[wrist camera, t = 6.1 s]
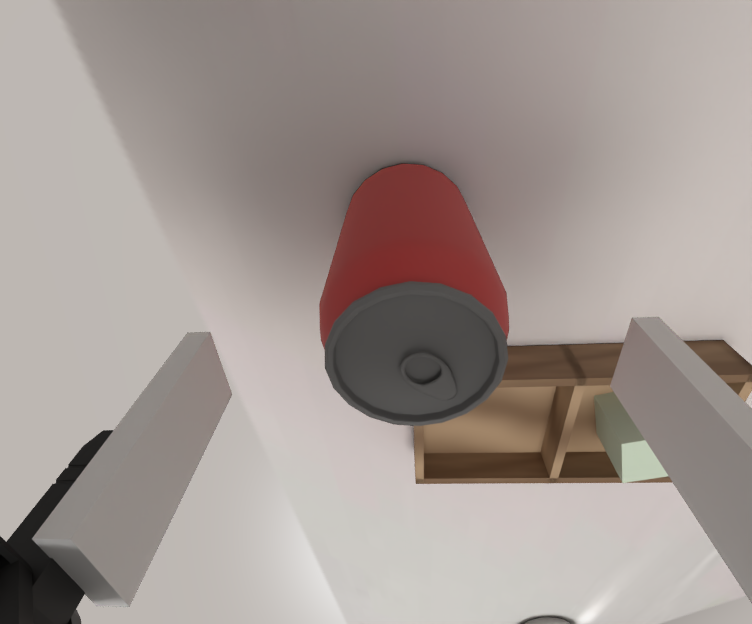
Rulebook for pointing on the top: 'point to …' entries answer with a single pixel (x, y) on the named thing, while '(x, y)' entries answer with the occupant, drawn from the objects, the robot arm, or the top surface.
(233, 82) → the top surface
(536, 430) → the tray
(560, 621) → the can
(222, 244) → the top surface
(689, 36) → the top surface
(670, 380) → the robot arm
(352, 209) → the beer can
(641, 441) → the sage block
